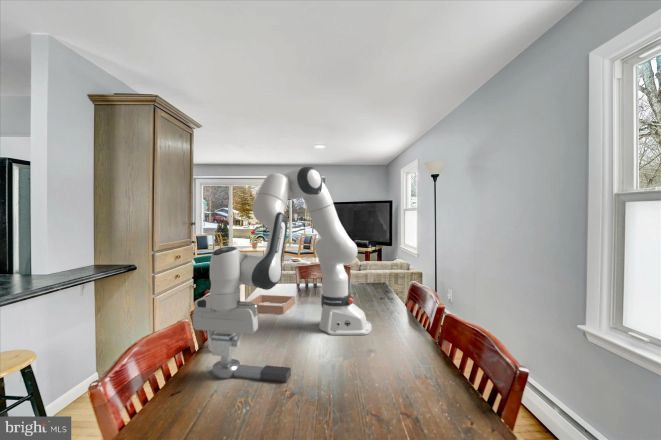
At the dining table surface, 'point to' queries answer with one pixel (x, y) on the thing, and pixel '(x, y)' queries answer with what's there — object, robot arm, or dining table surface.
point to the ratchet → (249, 371)
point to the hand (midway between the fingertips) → (225, 345)
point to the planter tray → (274, 309)
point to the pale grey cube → (223, 344)
